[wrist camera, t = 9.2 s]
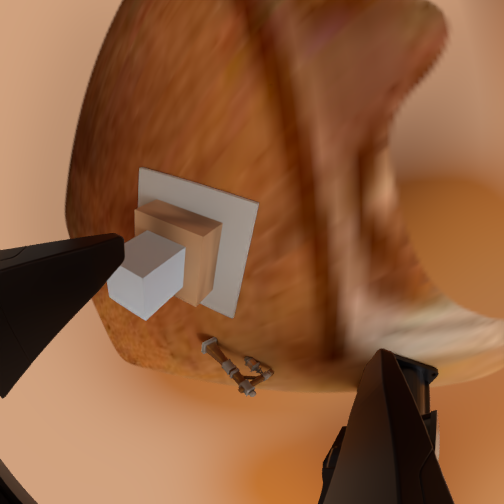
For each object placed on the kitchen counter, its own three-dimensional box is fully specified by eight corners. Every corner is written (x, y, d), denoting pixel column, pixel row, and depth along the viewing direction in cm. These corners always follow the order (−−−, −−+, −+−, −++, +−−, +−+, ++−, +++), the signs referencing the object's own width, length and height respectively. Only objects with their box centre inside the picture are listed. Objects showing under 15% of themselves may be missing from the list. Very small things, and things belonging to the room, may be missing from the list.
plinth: (222, 223, 22) (203, 237, 20) (212, 289, 26) (195, 307, 23) (157, 199, 24) (134, 209, 22) (155, 262, 28) (136, 275, 25)
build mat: (259, 202, 21) (257, 204, 20) (234, 316, 27) (232, 318, 27) (142, 167, 24) (139, 167, 23) (141, 270, 30) (139, 271, 30)
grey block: (185, 247, 21) (142, 278, 17) (182, 287, 23) (145, 320, 19) (147, 230, 22) (103, 255, 18) (147, 268, 24) (109, 297, 20)
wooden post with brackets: (277, 382, 28) (246, 403, 25) (230, 337, 32) (199, 353, 29) (281, 373, 27) (250, 396, 24) (232, 327, 31) (200, 343, 28)
